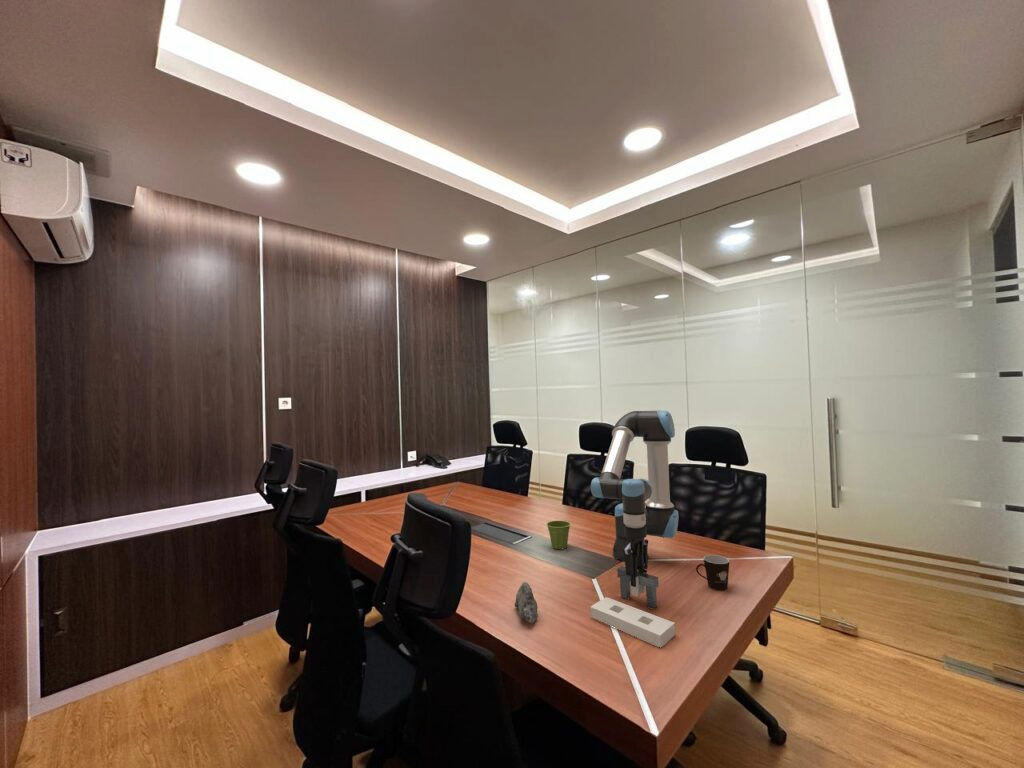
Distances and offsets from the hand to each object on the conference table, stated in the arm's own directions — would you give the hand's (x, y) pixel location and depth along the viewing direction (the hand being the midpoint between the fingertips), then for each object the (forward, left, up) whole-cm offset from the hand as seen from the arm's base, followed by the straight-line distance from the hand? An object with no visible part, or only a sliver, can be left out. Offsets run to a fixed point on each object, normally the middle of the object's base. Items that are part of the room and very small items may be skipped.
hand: (638, 593), depth 143 cm
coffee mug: (+14, +29, -3) cm, 32 cm away
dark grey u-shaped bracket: (0, 0, -3) cm, 3 cm away
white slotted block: (+6, -15, -3) cm, 16 cm away
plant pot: (-55, +23, -3) cm, 60 cm away
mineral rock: (-22, -33, -3) cm, 40 cm away
